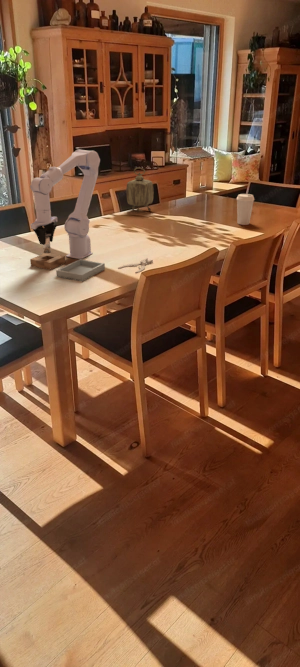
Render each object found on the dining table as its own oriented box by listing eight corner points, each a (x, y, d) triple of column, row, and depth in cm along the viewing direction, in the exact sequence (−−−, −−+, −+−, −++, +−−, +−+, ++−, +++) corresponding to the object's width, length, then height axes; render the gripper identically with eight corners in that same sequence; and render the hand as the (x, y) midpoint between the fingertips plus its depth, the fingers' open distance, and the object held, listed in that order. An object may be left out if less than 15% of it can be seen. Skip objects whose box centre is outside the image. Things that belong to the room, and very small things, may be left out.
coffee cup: (248, 226, 266) (250, 197, 259) (231, 224, 270) (233, 195, 264) (254, 222, 273) (257, 194, 267) (238, 220, 278) (240, 192, 271)
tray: (80, 264, 207) (80, 259, 206) (104, 269, 202) (104, 263, 201) (56, 276, 194) (56, 270, 193) (82, 281, 189) (81, 275, 188)
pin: (46, 250, 208) (44, 231, 204) (54, 251, 206) (53, 232, 202) (39, 252, 204) (37, 234, 201) (48, 254, 202) (46, 235, 199)
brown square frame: (46, 259, 213) (45, 252, 212) (65, 263, 209) (64, 256, 208) (30, 266, 205) (30, 259, 204) (50, 270, 201) (49, 262, 200)
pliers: (117, 265, 203) (140, 256, 214) (117, 269, 204) (140, 260, 214) (136, 270, 197) (159, 261, 208) (136, 274, 198) (159, 264, 209)
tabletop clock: (153, 210, 300) (153, 167, 289) (147, 213, 292) (147, 169, 281) (131, 208, 305) (131, 165, 294) (125, 211, 298) (124, 167, 287)
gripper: (46, 204, 205) (49, 237, 211) (23, 211, 193) (26, 245, 199) (60, 206, 202) (63, 239, 208) (37, 213, 190) (40, 248, 196)
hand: (46, 242), depth 203 cm, fingers closed on pin, 4 cm apart
